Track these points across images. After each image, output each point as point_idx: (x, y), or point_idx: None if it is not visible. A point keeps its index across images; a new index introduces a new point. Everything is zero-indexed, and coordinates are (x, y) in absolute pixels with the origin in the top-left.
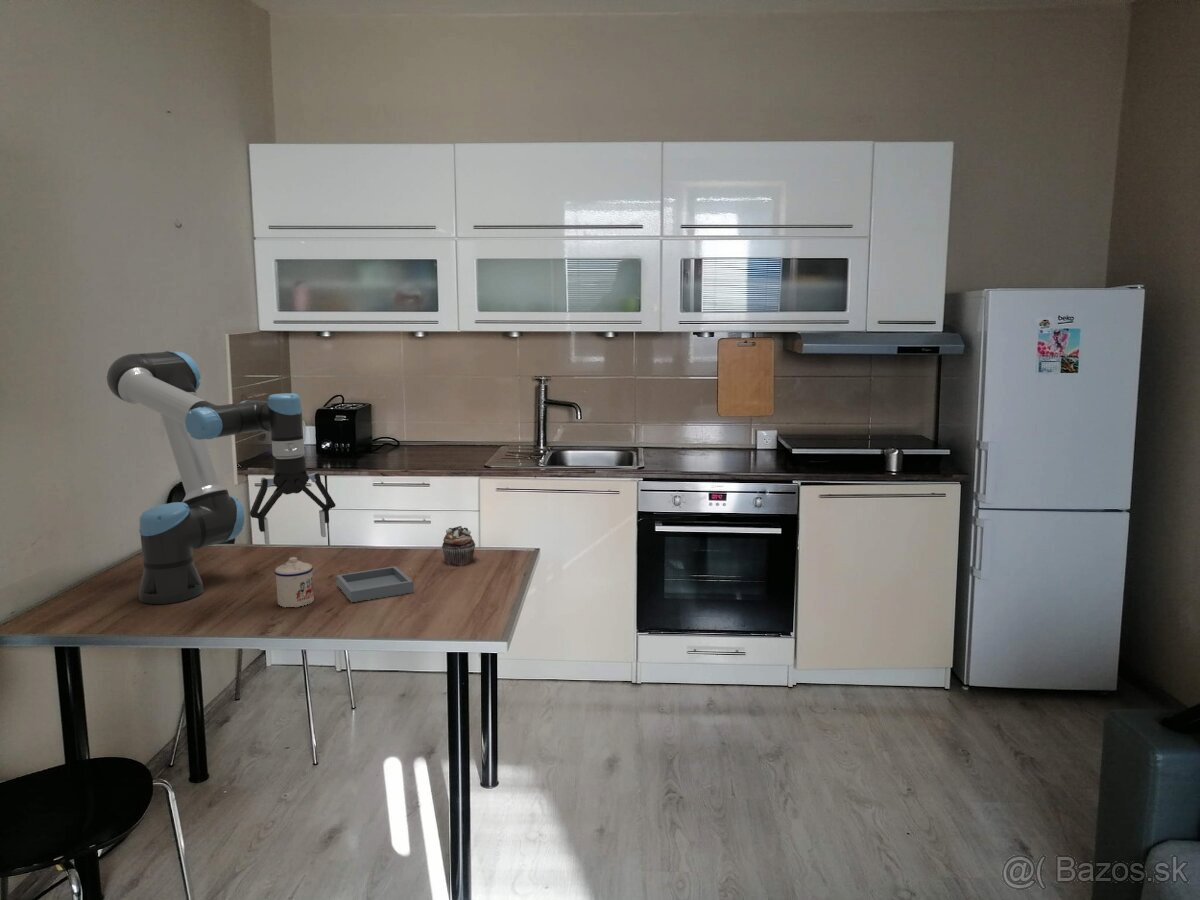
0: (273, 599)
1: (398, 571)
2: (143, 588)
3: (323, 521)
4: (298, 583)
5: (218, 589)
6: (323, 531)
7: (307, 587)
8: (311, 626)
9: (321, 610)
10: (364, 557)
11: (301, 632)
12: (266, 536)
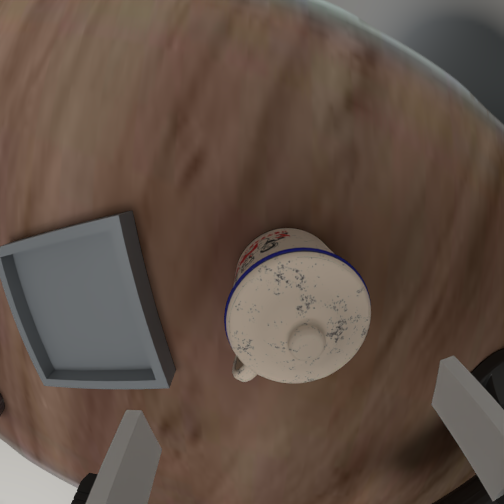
0: None
1: (29, 344)
2: None
3: (103, 480)
4: (283, 244)
5: (425, 413)
6: (127, 434)
7: (251, 254)
8: (249, 51)
9: (216, 175)
10: None
11: (276, 21)
12: (476, 383)
